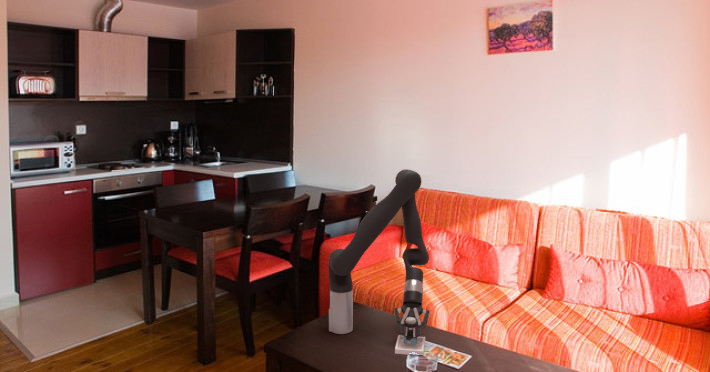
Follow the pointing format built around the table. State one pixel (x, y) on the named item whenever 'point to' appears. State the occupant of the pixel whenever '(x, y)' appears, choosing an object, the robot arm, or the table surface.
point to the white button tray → (409, 346)
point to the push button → (410, 331)
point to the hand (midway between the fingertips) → (410, 335)
